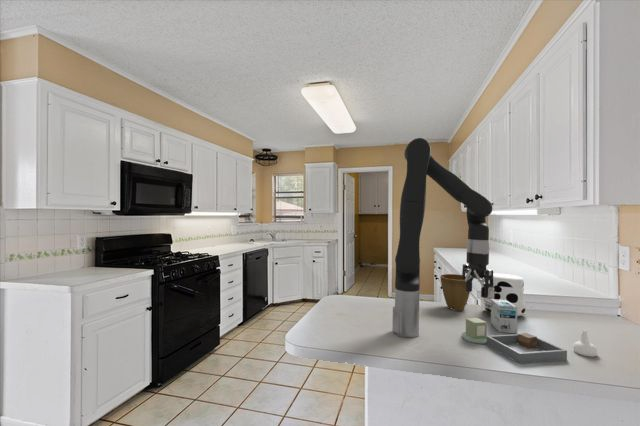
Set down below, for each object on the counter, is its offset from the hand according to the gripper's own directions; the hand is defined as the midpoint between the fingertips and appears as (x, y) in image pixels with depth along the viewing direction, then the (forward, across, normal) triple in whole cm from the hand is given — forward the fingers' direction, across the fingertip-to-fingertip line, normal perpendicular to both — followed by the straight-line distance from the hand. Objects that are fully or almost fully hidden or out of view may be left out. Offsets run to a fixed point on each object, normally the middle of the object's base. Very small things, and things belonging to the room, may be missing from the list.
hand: (476, 294), depth 116 cm
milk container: (+16, -25, +34) cm, 46 cm away
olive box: (+16, 0, 0) cm, 16 cm away
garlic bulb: (+16, +17, +30) cm, 38 cm away
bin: (+16, +13, +9) cm, 23 cm away
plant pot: (+17, -36, +16) cm, 43 cm away
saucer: (+17, 0, 0) cm, 17 cm away
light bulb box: (+17, -8, +19) cm, 27 cm away
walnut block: (+16, +9, +14) cm, 23 cm away
